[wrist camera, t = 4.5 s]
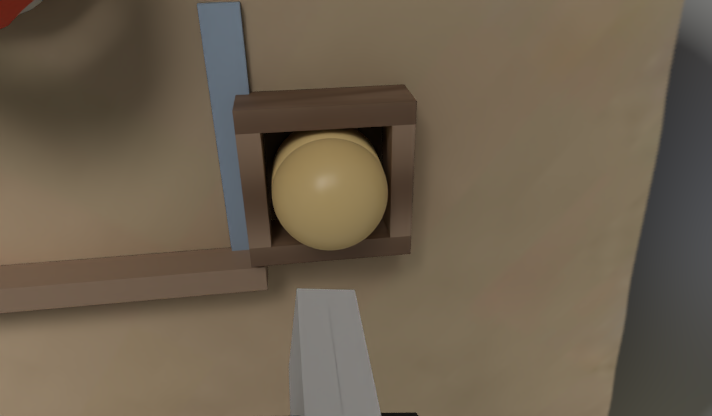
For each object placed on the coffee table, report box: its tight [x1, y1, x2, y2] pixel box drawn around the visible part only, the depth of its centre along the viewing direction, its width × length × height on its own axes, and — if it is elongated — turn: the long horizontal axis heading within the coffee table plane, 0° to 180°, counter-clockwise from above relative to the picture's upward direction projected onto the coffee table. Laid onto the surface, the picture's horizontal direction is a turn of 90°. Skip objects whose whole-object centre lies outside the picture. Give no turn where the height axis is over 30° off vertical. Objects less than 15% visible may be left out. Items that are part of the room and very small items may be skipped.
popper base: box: [232, 85, 417, 267], centre depth 30 cm, size 9×9×3 cm
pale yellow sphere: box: [272, 128, 388, 250], centre depth 28 cm, size 6×6×6 cm
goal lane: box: [0, 2, 268, 313], centre depth 28 cm, size 16×20×2 cm
